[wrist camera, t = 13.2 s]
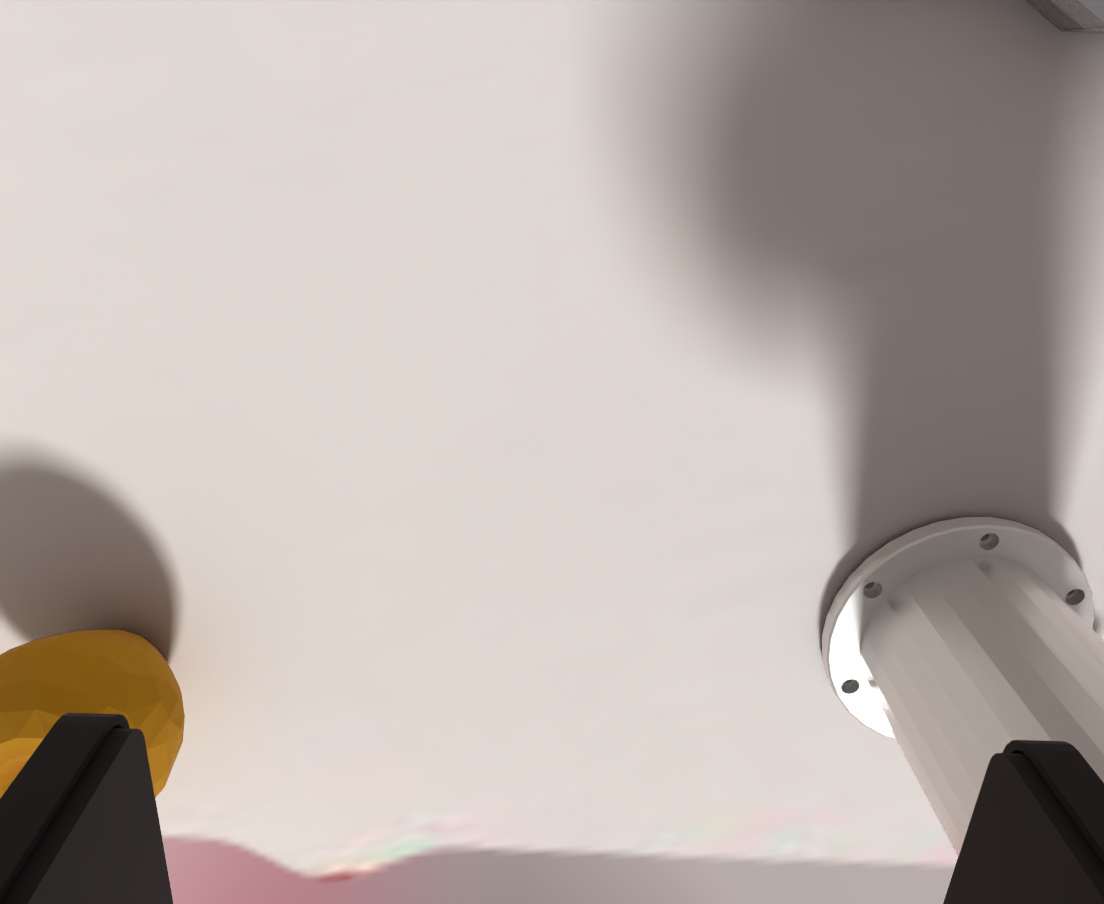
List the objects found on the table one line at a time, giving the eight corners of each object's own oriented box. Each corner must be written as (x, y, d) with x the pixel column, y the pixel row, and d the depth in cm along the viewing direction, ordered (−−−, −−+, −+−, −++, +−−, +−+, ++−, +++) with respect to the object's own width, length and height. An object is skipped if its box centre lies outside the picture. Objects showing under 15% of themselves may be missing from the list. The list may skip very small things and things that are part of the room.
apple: (-12, 621, 42) (-144, 757, 34) (146, 552, 41) (48, 677, 33) (102, 754, 45) (7, 908, 37) (252, 695, 44) (187, 840, 36)
